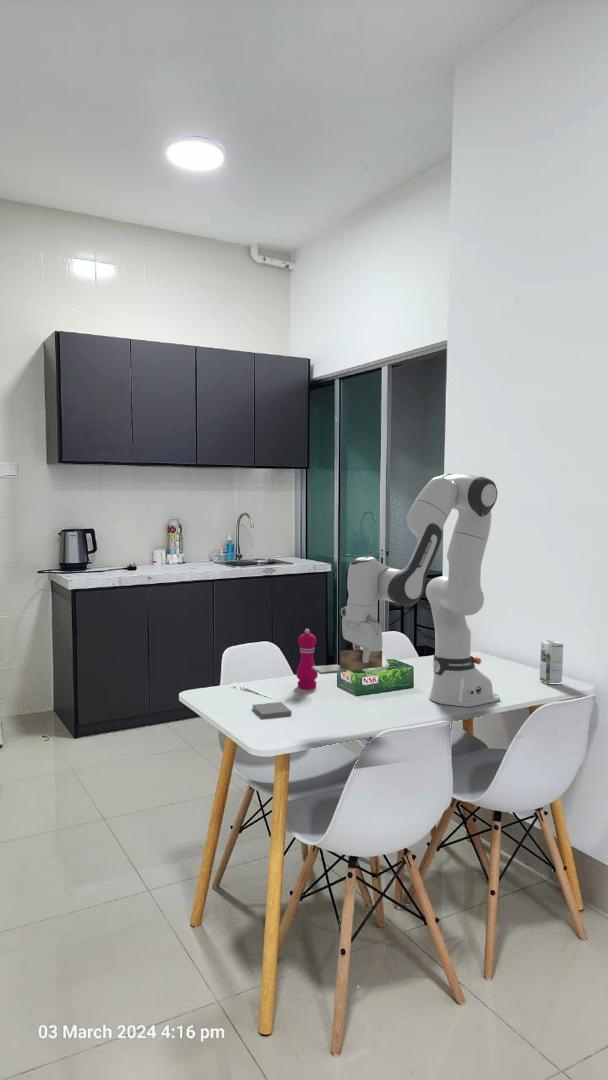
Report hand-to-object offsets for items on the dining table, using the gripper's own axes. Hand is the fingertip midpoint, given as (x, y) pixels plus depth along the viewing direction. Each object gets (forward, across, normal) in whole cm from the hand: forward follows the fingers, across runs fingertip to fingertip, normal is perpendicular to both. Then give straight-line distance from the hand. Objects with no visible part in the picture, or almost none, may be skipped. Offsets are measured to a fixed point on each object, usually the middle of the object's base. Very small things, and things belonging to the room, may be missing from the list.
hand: (361, 660), depth 212 cm
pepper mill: (+18, +38, +2) cm, 42 cm away
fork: (+18, +38, +21) cm, 48 cm away
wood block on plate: (+2, 0, +4) cm, 5 cm away
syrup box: (+17, +16, -80) cm, 83 cm away
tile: (+17, +15, +18) cm, 29 cm away
